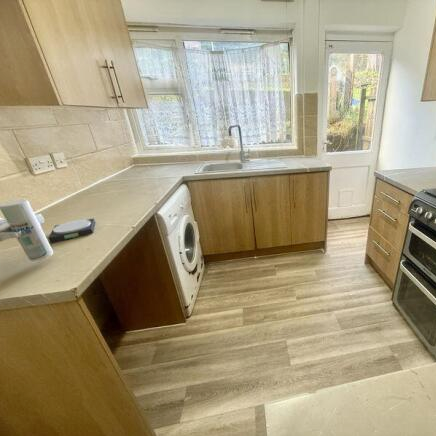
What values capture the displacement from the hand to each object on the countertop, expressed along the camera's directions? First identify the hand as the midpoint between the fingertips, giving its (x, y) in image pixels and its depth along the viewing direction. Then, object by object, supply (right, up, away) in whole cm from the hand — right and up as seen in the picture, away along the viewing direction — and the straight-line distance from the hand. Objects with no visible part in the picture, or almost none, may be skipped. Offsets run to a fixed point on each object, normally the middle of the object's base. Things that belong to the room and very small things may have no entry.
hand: (29, 229), depth 80 cm
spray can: (-1, -10, +5) cm, 11 cm away
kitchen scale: (-9, -2, +27) cm, 29 cm away
